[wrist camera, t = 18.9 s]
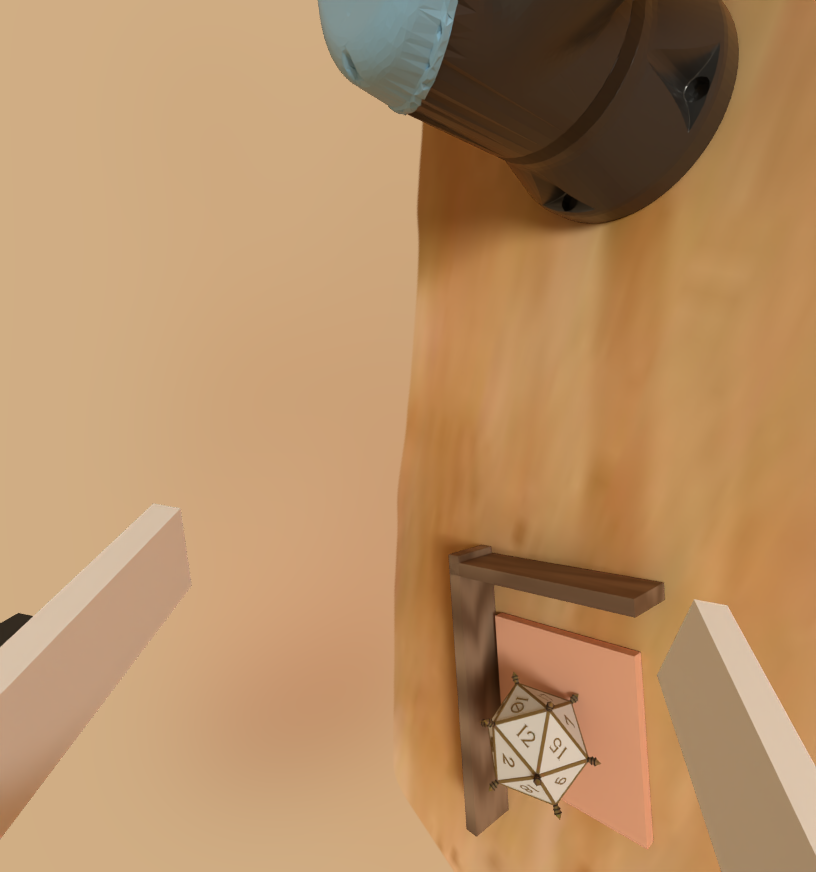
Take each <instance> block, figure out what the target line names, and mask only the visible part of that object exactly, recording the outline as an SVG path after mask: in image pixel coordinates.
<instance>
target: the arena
mask: <svg viewBox="0 0 816 872" xmlns="http://www.w3.org/2000/svg"><path fill="white" fill-rule="evenodd" d="M449 568H450V584H451V599H452V614H453V629H454V644H455V660H456V675H457V690H458V705H459V721H460V736H461V751H462V766H463V781H464V797H465V812H466V827H467V830H468V831H470V832H471V833H472V834H474V835H475V836H476V837H477V836H478V835H479V834H480V833H481V832H483V831H484V830H485V829H486V828H487V827H489V826H490V825H491V824H492V823H493V822H494V821H496V820H497V819H498V818H499V817H500V816H502V815H503V814H504V813H505V812H506V811H508V795H507V787H506V786H503V785H501V784H498V786H497V788H496V789H495V791H494V790H493V791H489V785H490V784H491V783H492V781H495V772H494V766H493V759H492V752H491V746H490V739H489V732H488V727H484V726H483V727H482V725H481V723H480V722H479V721H481V720H483V719H485V720H486V719H488V718H490V719H491V718H492V717H493V715H494V714H495V712H496V711H497V709H498V708H499V707H500V705H501V698H500V683H499V668H498V653H497V638H496V622H495V615H496V613H495V598H494V585H498V586H503V587H507V588H511V589H515V590H520V591H524V592H528V593H532V594H537V595H541V596H545V597H549V598H554V599H558V600H562V601H567V602H571V603H575V604H579V605H584V606H588V607H592V608H596V609H601V610H605V611H609V612H613V613H618V614H622V615H626V616H631V617H637V616H639V615H640V614H642V613H644V612H645V611H647V610H649V609H650V608H652V607H653V606H655V605H657V604H658V603H660V602H662V601H663V600H665V594H664V583H662V582H657V581H651V580H645V579H639V578H634V577H628V576H622V575H616V574H611V573H605V572H599V571H593V570H588V569H582V568H576V567H570V566H564V565H559V564H553V563H547V562H541V561H536V560H530V559H524V558H518V557H513V556H507V555H501V554H495V553H491V546H485V545H480V546H476V547H473V548H469V549H466V550H462V551H459V552H455V553H452V554H449ZM489 783H490V784H489ZM488 791H489V792H488Z"/></svg>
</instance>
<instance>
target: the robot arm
mask: <svg viewBox="0 0 816 872" xmlns="http://www.w3.org/2000/svg"><path fill="white" fill-rule="evenodd" d="M318 6H319V14H320V19H321V25H322V30H323V34H324V38H325V41H326V44H327V47H328V50H329V52H330V55H331V57H332V59H333V61H334V62H335V64H336V66H337V67H338V69H339V70H340V71H341V73H342V74H343V75H344V76H345V77H346V78H347V79H348V80H349V81H350V82H352V83H353V84H355V85H356V86H358V87H359V88H361V89H362V90H364V91H366V92H367V93H369V94H371V95H372V96H374V97H376V98H377V99H379V100H380V101H382V102H384V103H385V104H387V105H388V107H389V108H390V109H392V110H393V111H394V112H396V113H398V114H404V115H406V114H408V115H410V116H412V117H414V118H416V119H419V120H421V121H423V122H425V123H427V124H429V125H431V126H433V127H435V128H437V129H440V130H442V131H444V132H446V133H448V134H450V135H452V136H454V137H457V138H459V139H461V140H463V141H465V142H467V143H469V144H471V145H473V146H476V147H478V148H480V149H482V150H484V151H486V152H488V153H490V154H493V155H495V156H497V157H499V158H501V159H503V160H505V161H506V162H507V164H508V165H509V166H510V168H511V169H512V170H513V172H514V173H515V175H516V176H517V177H518V179H519V180H520V181H521V183H522V184H523V186H524V187H525V188H526V190H527V191H528V192H529V194H530V195H531V196H532V197H533V199H534V200H535V201H537V202H538V203H539V204H540V205H541V206H543V207H544V208H545V209H547V210H549V211H551V212H553V213H555V214H557V215H560V216H562V217H564V218H567V219H569V220H572V221H576V222H581V223H602V222H608V221H612V220H616V219H619V218H622V217H625V216H627V215H630V214H632V213H634V212H636V211H638V210H640V209H642V208H643V207H645V206H647V205H648V204H650V203H652V202H653V201H655V200H656V199H657V198H659V197H660V196H662V195H663V194H664V193H665V192H666V191H668V190H669V189H670V188H671V187H672V186H673V185H674V184H676V183H677V182H678V181H679V180H680V179H681V178H682V177H683V176H684V175H685V174H686V172H687V171H688V170H689V169H690V168H691V167H692V166H693V164H694V163H695V162H696V161H697V159H698V158H699V157H700V156H701V154H702V153H703V151H704V150H705V149H706V147H707V145H708V144H709V142H710V141H711V139H712V138H713V136H714V134H715V132H716V131H717V129H718V127H719V125H720V123H721V121H722V119H723V116H724V114H725V112H726V110H727V107H728V104H729V102H730V99H731V95H732V92H733V89H734V85H735V80H736V75H737V69H738V54H739V48H738V38H737V32H736V28H735V24H734V21H733V19H732V16H731V14H730V12H729V11H728V9H727V7H726V6H725V4H724V3H723V2H722V0H318ZM190 587H191V579H190V572H189V565H188V557H187V551H186V544H185V537H184V530H183V523H182V516H181V509H180V508H175V507H169V506H164V505H158V504H152V505H151V506H150V507H149V508H148V509H147V510H146V511H145V512H144V513H143V514H142V515H141V516H140V517H139V518H138V519H136V520H135V521H134V522H133V523H132V524H131V525H130V526H129V527H128V528H127V529H126V530H125V531H124V532H123V533H122V534H121V535H119V537H117V538H116V539H115V540H114V541H113V542H112V543H111V544H110V545H109V546H108V547H107V548H106V549H105V550H103V551H102V552H101V553H100V554H99V555H98V556H97V557H96V558H95V559H94V560H93V561H92V562H91V563H90V564H89V565H88V566H86V567H85V568H84V569H83V570H82V571H81V572H80V573H79V574H78V575H77V576H76V577H75V578H74V579H73V580H71V581H70V582H69V583H68V584H67V585H66V586H65V587H64V588H63V589H62V590H61V591H60V592H59V593H58V594H57V595H55V596H54V597H53V598H52V599H51V600H50V601H49V602H48V603H47V604H46V605H45V606H44V607H43V608H42V609H41V610H39V611H38V612H37V613H36V614H35V615H34V616H30V615H25V614H20V613H18V614H16V615H14V616H12V617H11V618H9V619H7V620H5V621H4V622H2V623H0V839H1V838H2V836H3V835H4V834H5V832H6V831H7V829H8V828H9V827H10V826H11V824H12V823H13V822H14V820H15V819H16V817H17V816H18V815H19V814H20V812H21V811H22V809H23V808H24V807H25V806H26V804H27V803H28V802H29V800H30V799H31V798H32V797H33V795H34V794H35V792H36V791H37V790H38V789H39V787H40V786H41V785H42V783H43V782H44V781H45V779H46V778H47V777H48V775H49V774H50V773H51V771H52V770H53V769H54V767H55V766H56V765H57V763H58V762H59V761H60V759H61V758H62V757H63V755H64V754H65V753H66V751H67V750H68V749H69V747H70V746H71V745H72V744H73V742H74V741H75V740H76V738H77V737H78V735H79V734H80V733H81V732H82V730H83V729H84V728H85V726H86V725H87V724H88V722H89V721H90V720H91V718H92V717H93V716H94V714H95V713H96V712H97V710H98V709H99V708H100V706H101V705H102V704H103V702H104V701H105V700H106V698H107V697H108V696H109V694H110V693H111V691H112V690H113V689H114V688H115V687H116V685H117V684H118V683H119V681H120V680H121V679H122V677H123V676H124V675H125V673H126V672H127V670H128V669H129V668H130V667H131V665H132V664H133V663H134V661H135V660H136V659H137V657H138V656H139V655H140V653H141V652H142V650H143V649H144V648H145V647H146V645H147V644H148V642H149V641H150V640H151V639H152V637H153V636H154V635H155V633H156V632H157V631H158V630H159V628H160V627H161V626H162V624H163V623H164V622H165V620H166V619H167V617H168V616H169V615H170V614H171V612H172V611H173V610H174V608H175V607H176V606H177V604H178V603H179V602H180V600H181V599H182V598H183V596H184V595H185V594H186V592H187V591H188V590H189V588H190ZM657 677H658V680H659V683H660V686H661V689H662V692H663V695H664V698H665V701H666V704H667V707H668V710H669V713H670V717H671V720H672V723H673V726H674V729H675V732H676V735H677V738H678V741H679V744H680V747H681V750H682V753H683V756H684V759H685V762H686V765H687V768H688V771H689V775H690V778H691V781H692V784H693V787H694V790H695V793H696V796H697V799H698V802H699V805H700V808H701V811H702V814H703V817H704V820H705V823H706V826H707V829H708V833H709V836H710V839H711V842H712V845H713V848H714V851H715V854H716V857H717V860H718V863H719V866H720V869H721V872H816V766H815V765H814V763H813V761H812V759H811V757H810V755H809V754H808V752H807V750H806V748H805V746H804V745H803V743H802V741H801V739H800V737H799V735H798V734H797V732H796V730H795V728H794V726H793V724H792V723H791V721H790V719H789V717H788V715H787V713H786V712H785V710H784V708H783V706H782V704H781V703H780V701H779V699H778V697H777V695H776V693H775V692H774V690H773V688H772V686H771V684H770V682H769V681H768V679H767V677H766V675H765V673H764V672H763V670H762V668H761V666H760V664H759V662H758V661H757V659H756V657H755V655H754V653H753V651H752V650H751V648H750V646H749V644H748V642H747V640H746V639H745V637H744V635H743V633H742V631H741V630H740V628H739V626H738V624H737V622H736V620H735V619H734V617H733V615H732V613H731V611H730V609H729V608H728V606H727V605H722V604H716V603H711V602H705V601H700V600H694V601H693V603H692V605H691V607H690V609H689V611H688V613H687V615H686V617H685V619H684V621H683V623H682V625H681V627H680V629H679V631H678V633H677V635H676V637H675V640H674V642H673V644H672V646H671V648H670V650H669V652H668V654H667V656H666V658H665V660H664V662H663V664H662V666H661V668H660V670H659V672H658V674H657Z"/></svg>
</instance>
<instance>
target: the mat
mask: <svg viewBox="0 0 816 872" xmlns="http://www.w3.org/2000/svg"><path fill="white" fill-rule="evenodd" d="M495 622H496V638H497V653H498V668H499V683H500V698H501V704H502V702H503V701H504V699H505V698H506V696H507V695H508V694H509V692H510V691H511V689H512V688H513V686H514V685H515V683H514V681H513V679H512V678H511V677H512V675H513V672H514V673H515V674H516V675H518V679H519V683H520V684H523V685H526V686H529V687H532V688H535V689H538V690H540V691H543V692H546V693H549V694H552V695H555V696H558V697H560V698H563V699H566V700H570V697H572V695H576V694H578V701H576V703H573V708H574V711H575V714H576V717H577V721H578V724H579V727H580V730H581V734H582V737H583V740H584V743H585V746H586V750H587V753H588V756H589V757H592V756H593V757H594V758H595V757H596V758H597V760H598V761H599V762H600V763H601V764H600V765H597V766H594V765H591V764H590V763H589V762H588V763H587V764H586V766H585V767H584V768H583V770H582V771H581V772H580V774H579V775H578V777H577V778H576V779H575V781H574V782H573V783H572V785H571V786H570V787H569V789H568V790H567V792H566V793H565V794H564V796H563V797H562V798H561V800H563V801H565V802H566V803H568V804H570V805H571V806H573V807H575V808H577V809H578V810H580V811H582V812H583V813H585V814H587V815H589V816H590V817H592V818H594V819H596V820H597V821H599V822H601V823H602V824H604V825H606V826H608V827H609V828H611V829H613V830H615V831H616V832H618V833H620V834H621V835H623V836H625V837H627V838H628V839H630V840H632V841H633V842H635V843H637V844H639V845H640V846H642V847H644V848H646V849H648V848H649V846H650V845H651V844H652V843H653V830H652V815H651V800H650V785H649V770H648V755H647V740H646V725H645V710H644V695H643V680H642V665H641V652H638V651H635V650H631V649H628V648H624V647H621V646H617V645H614V644H610V643H607V642H603V641H600V640H596V639H593V638H589V637H586V636H582V635H579V634H575V633H572V632H568V631H565V630H561V629H558V628H554V627H551V626H547V625H544V624H540V623H537V622H533V621H530V620H526V619H523V618H519V617H516V616H512V615H509V614H505V613H500V614H498V615H495Z"/></svg>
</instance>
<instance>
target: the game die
mask: <svg viewBox="0 0 816 872" xmlns="http://www.w3.org/2000/svg"><path fill="white" fill-rule="evenodd" d="M511 678H512V679H513V681H514V683H515V685H514V686H513V688H512V689H511V691H510V692H509V694H508V695H507V696H506V698H505V699H504V701H503V702H502V704H501V705H500V707H499V708H498V709H497V711H496V712H495V714H494V715H493V717H492V718H491V719H490V718H488V719H486V720H485V719H483V720H481V721H479V722H480V723H481V725H482V727H483V726H484V727H488V732H489V739H490V746H491V752H492V759H493V766H494V772H495V781H492V783H491V784H490V783H489V784H490V785H489V791H493V790H494V791H495V789H496V788H497V786H498V784H501V785H503V786H506V787H508V788H511V789H514V790H516V791H519V792H521V793H524V794H526V795H529V796H531V797H534V798H536V799H539V800H541V801H544V802H546V803H549V804H551V805H553V807H554V809H553V810H554V812H555V813H554V814H555V815H556V816H557V817H558V818H559V819H560V817H561V813H562V812H561V811H560V808H559V806H558V803H559V801H560V800H561V798H562V797H563V796H564V794H565V793H566V792H567V790H568V789H569V787H570V786H571V785H572V783H573V782H574V781H575V779H576V778H577V777H578V775H579V774H580V772H581V771H582V770H583V768H584V767H585V766H586V764H587V763H588V762H589V763H590V764H591V765H594V766H597V765H600V764H601V763H600V762H599V761H598V760H597V758H596V757H595V758H594V757H593V756H592V757H589V756H588V753H587V750H586V746H585V743H584V740H583V737H582V734H581V730H580V727H579V724H578V721H577V717H576V714H575V711H574V708H573V703H576V701H578V694H576V695H572V697H570V700H566V699H563V698H560V697H558V696H555V695H552V694H549V693H546V692H543V691H540V690H538V689H535V688H532V687H529V686H526V685H523V684H520V683H519V679H518V675H516V674H515V673H514V672H513V675H512V677H511ZM489 791H488V792H489Z"/></svg>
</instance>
